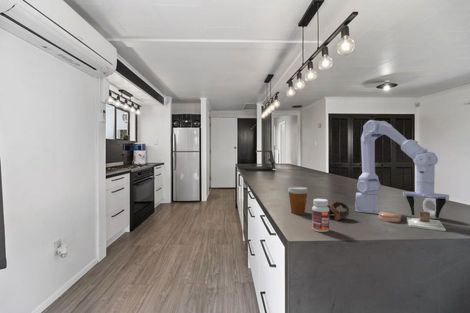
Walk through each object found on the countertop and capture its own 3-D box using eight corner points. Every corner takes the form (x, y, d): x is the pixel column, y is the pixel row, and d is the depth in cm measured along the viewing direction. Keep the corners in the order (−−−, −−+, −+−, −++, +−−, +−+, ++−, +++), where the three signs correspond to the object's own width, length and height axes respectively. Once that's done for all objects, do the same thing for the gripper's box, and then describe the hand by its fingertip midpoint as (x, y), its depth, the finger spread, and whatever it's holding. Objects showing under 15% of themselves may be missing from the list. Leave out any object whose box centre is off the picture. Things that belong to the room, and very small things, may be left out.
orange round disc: (377, 220, 105) (377, 214, 105) (378, 216, 113) (378, 210, 112) (402, 223, 101) (402, 217, 101) (400, 218, 108) (400, 213, 108)
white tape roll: (447, 221, 103) (448, 197, 103) (439, 221, 103) (440, 198, 103) (427, 215, 113) (428, 193, 113) (420, 215, 113) (420, 193, 113)
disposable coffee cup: (296, 216, 113) (297, 189, 112) (283, 211, 121) (283, 187, 121) (312, 213, 117) (312, 188, 117) (298, 209, 126) (298, 185, 125)
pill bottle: (324, 233, 89) (324, 202, 89) (308, 229, 94) (308, 199, 93) (332, 229, 93) (332, 200, 93) (317, 226, 98) (317, 197, 97)
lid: (411, 223, 98) (411, 213, 98) (409, 218, 106) (409, 208, 106) (441, 227, 93) (441, 216, 93) (437, 221, 101) (437, 211, 101)
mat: (409, 226, 97) (409, 224, 97) (406, 218, 108) (406, 216, 108) (445, 231, 91) (445, 229, 91) (439, 222, 102) (439, 220, 102)
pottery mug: (344, 216, 114) (350, 203, 110) (344, 231, 106) (351, 217, 102) (317, 208, 117) (322, 195, 113) (316, 222, 109) (321, 208, 105)
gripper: (404, 182, 99) (403, 215, 100) (451, 184, 92) (450, 221, 92) (402, 180, 106) (402, 212, 106) (447, 182, 98) (446, 216, 98)
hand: (424, 216), depth 99 cm, fingers open, 7 cm apart
